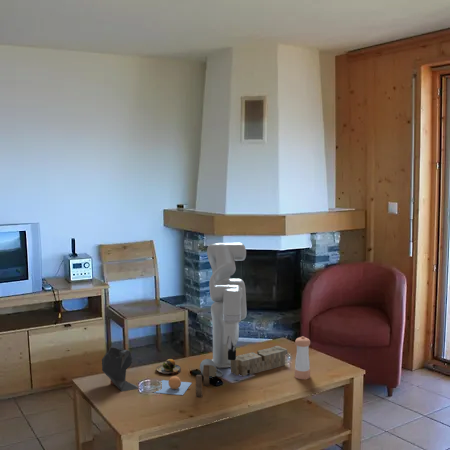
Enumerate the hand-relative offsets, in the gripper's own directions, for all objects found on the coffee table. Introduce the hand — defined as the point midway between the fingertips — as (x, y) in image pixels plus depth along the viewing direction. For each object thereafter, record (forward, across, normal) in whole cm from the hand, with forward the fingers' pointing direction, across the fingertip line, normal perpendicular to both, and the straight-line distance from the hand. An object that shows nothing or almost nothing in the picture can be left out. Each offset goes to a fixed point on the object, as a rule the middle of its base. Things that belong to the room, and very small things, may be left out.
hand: (231, 359), depth 241 cm
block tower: (+16, -32, +7) cm, 36 cm away
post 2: (+15, -6, -13) cm, 21 cm away
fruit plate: (+16, -19, -35) cm, 43 cm away
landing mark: (+15, 0, -27) cm, 31 cm away
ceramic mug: (+15, -17, -14) cm, 27 cm away
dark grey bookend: (+15, +2, -51) cm, 54 cm away
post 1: (+15, +6, -13) cm, 21 cm away
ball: (+12, +1, -26) cm, 28 cm away
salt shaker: (+15, -26, +28) cm, 41 cm away
